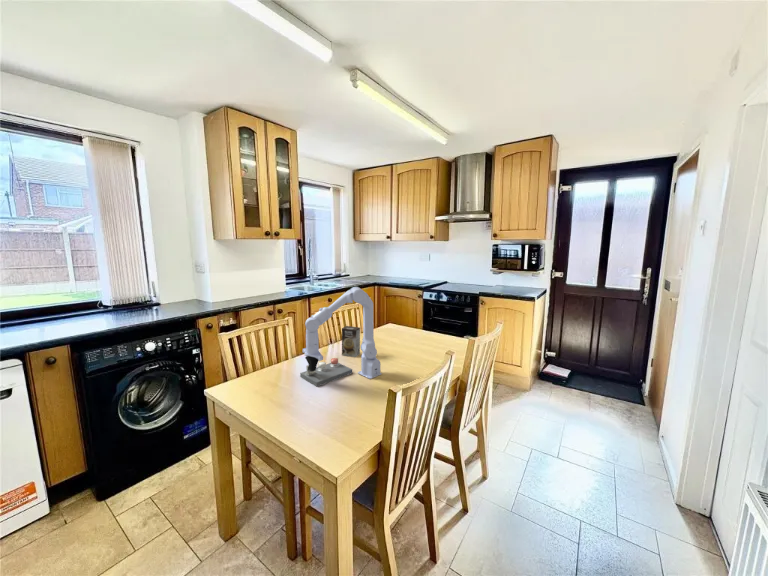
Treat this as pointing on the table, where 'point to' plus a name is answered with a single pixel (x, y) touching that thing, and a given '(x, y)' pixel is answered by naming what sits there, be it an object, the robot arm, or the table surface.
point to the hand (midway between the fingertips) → (313, 370)
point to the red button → (334, 361)
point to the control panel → (326, 374)
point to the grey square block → (309, 371)
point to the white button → (322, 365)
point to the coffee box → (350, 341)
